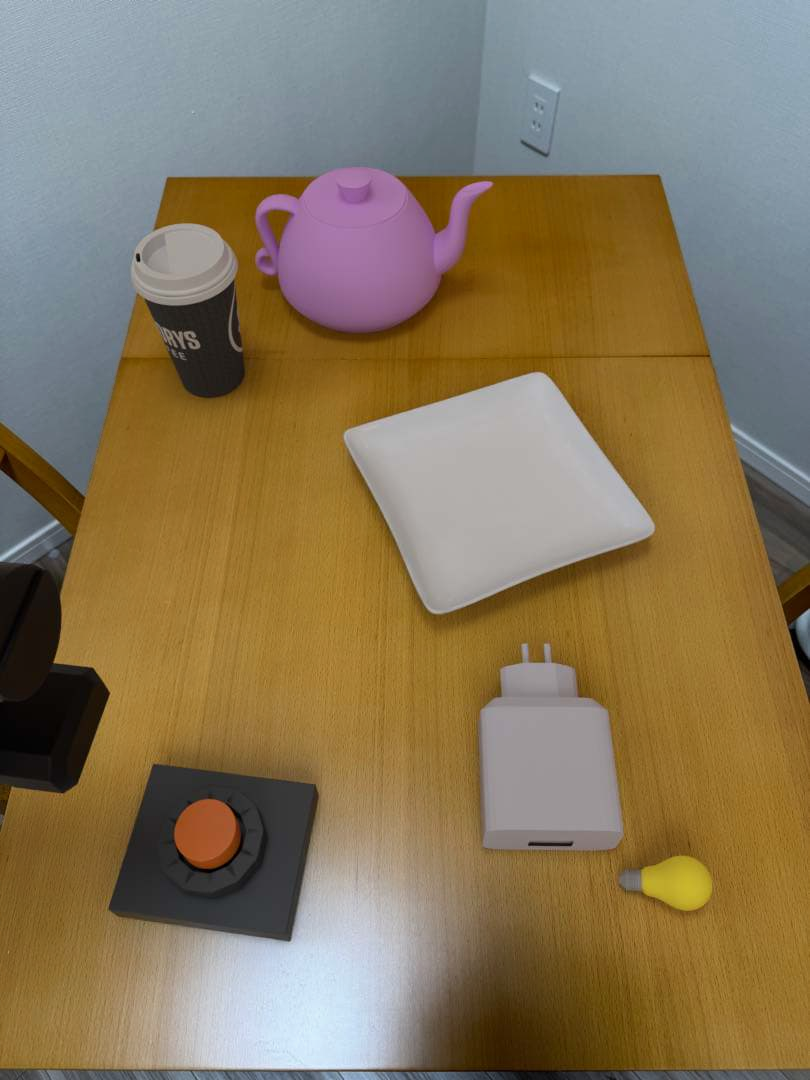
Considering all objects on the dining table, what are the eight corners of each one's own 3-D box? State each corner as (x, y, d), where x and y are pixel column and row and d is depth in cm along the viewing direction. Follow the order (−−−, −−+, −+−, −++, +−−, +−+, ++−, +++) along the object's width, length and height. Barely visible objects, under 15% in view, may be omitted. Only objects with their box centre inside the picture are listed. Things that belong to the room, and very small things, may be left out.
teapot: (246, 340, 90) (222, 227, 79) (271, 237, 100) (253, 124, 89) (484, 347, 89) (493, 234, 78) (485, 242, 99) (493, 128, 88)
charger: (590, 658, 68) (613, 851, 60) (474, 658, 69) (481, 850, 60) (600, 630, 65) (626, 831, 56) (478, 629, 65) (485, 830, 56)
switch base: (117, 916, 58) (98, 903, 55) (160, 773, 64) (146, 753, 60) (290, 941, 57) (282, 929, 54) (319, 794, 63) (313, 775, 59)
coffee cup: (181, 339, 91) (143, 214, 78) (269, 346, 90) (245, 221, 77) (154, 404, 85) (108, 281, 73) (247, 413, 84) (217, 290, 72)
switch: (174, 864, 56) (166, 856, 55) (190, 804, 59) (183, 795, 57) (233, 873, 56) (227, 864, 54) (247, 812, 58) (242, 802, 56)
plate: (655, 551, 74) (664, 528, 71) (430, 636, 70) (431, 616, 67) (540, 390, 86) (544, 365, 83) (340, 455, 81) (338, 430, 78)
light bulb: (714, 908, 58) (715, 914, 54) (623, 904, 59) (618, 909, 56) (710, 855, 59) (710, 857, 55) (620, 852, 60) (615, 854, 57)
